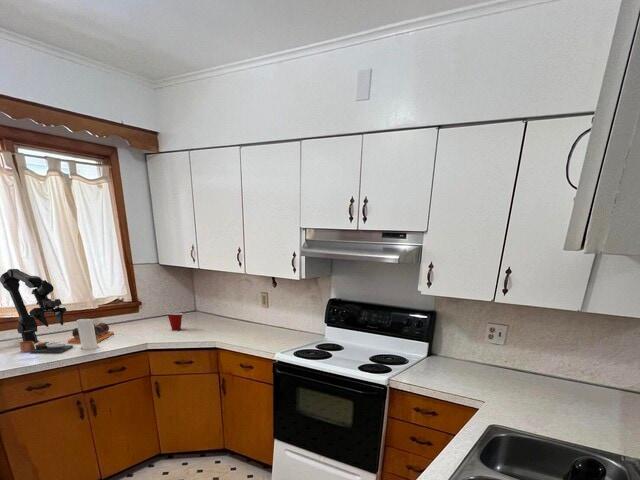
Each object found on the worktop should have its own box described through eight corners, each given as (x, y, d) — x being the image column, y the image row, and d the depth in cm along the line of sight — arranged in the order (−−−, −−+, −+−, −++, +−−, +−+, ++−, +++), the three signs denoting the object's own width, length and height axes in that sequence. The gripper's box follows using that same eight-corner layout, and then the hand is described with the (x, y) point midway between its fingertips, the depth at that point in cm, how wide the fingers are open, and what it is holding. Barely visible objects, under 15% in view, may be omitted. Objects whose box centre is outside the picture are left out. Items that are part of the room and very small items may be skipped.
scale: (30, 353, 234) (28, 348, 233) (44, 347, 247) (43, 342, 246) (60, 353, 235) (59, 348, 234) (73, 347, 248) (72, 342, 247)
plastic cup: (187, 329, 304) (186, 312, 300) (175, 332, 296) (173, 314, 291) (177, 327, 310) (175, 310, 305) (165, 329, 301) (163, 312, 296)
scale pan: (34, 347, 235) (33, 346, 235) (44, 342, 245) (44, 341, 245) (60, 347, 236) (60, 346, 236) (69, 343, 246) (69, 342, 246)
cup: (91, 349, 245) (85, 321, 239) (78, 348, 247) (73, 320, 241) (100, 346, 253) (95, 319, 247) (88, 345, 254) (83, 318, 248)
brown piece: (88, 333, 283) (85, 320, 280) (113, 333, 285) (111, 321, 282) (68, 343, 258) (65, 329, 254) (96, 343, 259) (93, 329, 256)
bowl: (18, 352, 235) (16, 343, 233) (25, 349, 242) (23, 340, 240) (31, 352, 236) (29, 343, 234) (38, 349, 242) (35, 341, 240)
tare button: (37, 346, 239) (37, 343, 238) (40, 345, 241) (39, 342, 240) (42, 346, 239) (41, 343, 238) (45, 345, 241) (44, 342, 241)
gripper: (35, 293, 224) (49, 322, 226) (66, 293, 241) (78, 319, 243) (22, 301, 228) (36, 329, 231) (54, 300, 245) (66, 326, 248)
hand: (55, 325), depth 238 cm, fingers open, 9 cm apart
